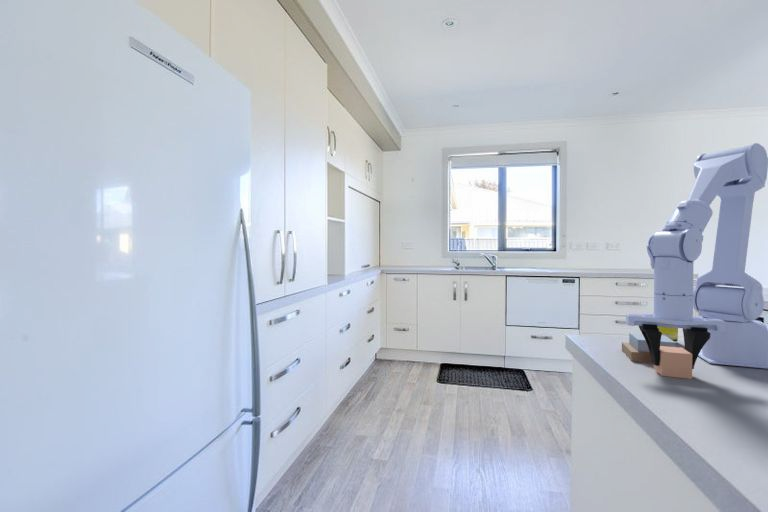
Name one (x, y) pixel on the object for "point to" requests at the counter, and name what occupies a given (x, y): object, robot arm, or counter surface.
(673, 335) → the supplement bottle
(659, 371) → the terracotta block
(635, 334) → the slate middle block
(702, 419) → the counter surface
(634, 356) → the walnut base block
